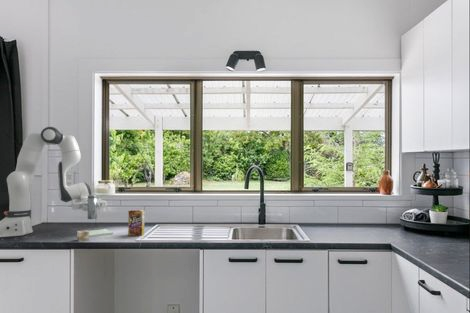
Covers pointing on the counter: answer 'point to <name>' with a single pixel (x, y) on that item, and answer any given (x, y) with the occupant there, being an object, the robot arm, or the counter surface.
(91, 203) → the tin
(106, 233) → the pad
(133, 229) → the candy box
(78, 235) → the maple cube
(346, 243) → the counter surface
